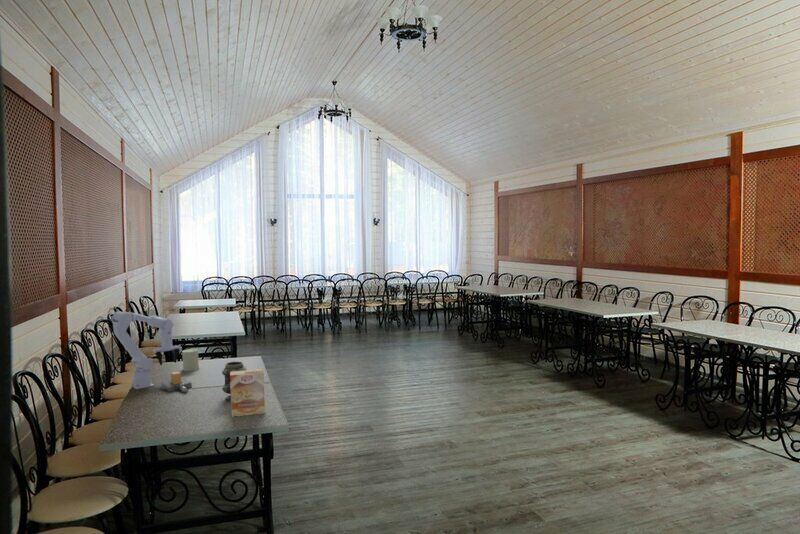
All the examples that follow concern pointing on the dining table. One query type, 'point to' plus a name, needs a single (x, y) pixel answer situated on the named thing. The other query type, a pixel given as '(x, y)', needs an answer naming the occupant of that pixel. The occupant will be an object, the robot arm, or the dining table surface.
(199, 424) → the dining table surface
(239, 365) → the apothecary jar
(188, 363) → the can
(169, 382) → the bracket head
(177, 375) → the tan cardboard box
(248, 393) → the coffeecake box
